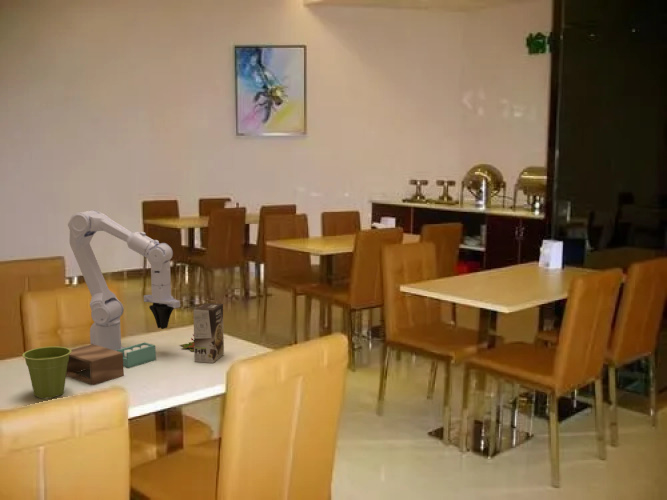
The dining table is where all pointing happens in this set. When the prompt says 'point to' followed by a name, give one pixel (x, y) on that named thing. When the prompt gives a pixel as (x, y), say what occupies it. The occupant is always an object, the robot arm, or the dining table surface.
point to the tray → (138, 354)
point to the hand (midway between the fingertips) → (162, 327)
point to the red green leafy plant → (189, 345)
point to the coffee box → (208, 332)
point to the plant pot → (47, 370)
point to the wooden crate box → (95, 364)
